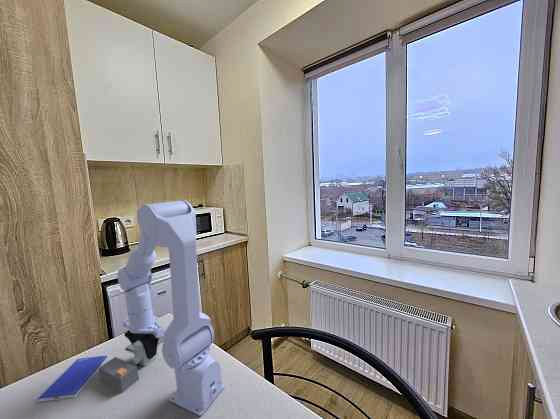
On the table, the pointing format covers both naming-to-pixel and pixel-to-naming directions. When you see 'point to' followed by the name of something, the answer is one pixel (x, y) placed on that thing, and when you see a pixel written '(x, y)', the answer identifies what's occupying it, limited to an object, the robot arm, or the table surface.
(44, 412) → the table surface
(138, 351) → the block
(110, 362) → the power strip
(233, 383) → the table surface
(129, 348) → the mat
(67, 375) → the blue book
